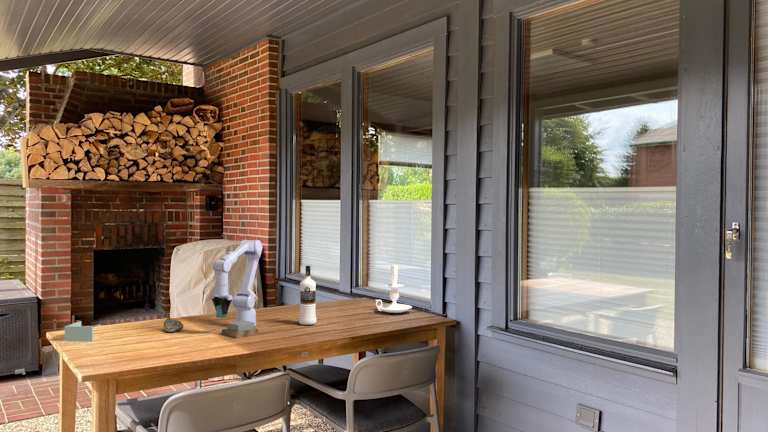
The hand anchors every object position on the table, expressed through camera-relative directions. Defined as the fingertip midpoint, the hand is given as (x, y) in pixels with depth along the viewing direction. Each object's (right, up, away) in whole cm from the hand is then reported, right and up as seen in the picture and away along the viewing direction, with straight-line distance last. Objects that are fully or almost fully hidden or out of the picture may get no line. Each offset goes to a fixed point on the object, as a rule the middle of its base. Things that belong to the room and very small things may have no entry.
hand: (221, 313), depth 275 cm
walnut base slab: (+9, -10, -2) cm, 14 cm away
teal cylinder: (0, -2, 0) cm, 2 cm away
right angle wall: (-56, -10, -17) cm, 59 cm away
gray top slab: (+10, -7, -2) cm, 12 cm away
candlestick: (+82, -10, +59) cm, 101 cm away
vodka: (+38, -10, +25) cm, 46 cm away
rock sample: (-25, -9, -2) cm, 27 cm away
